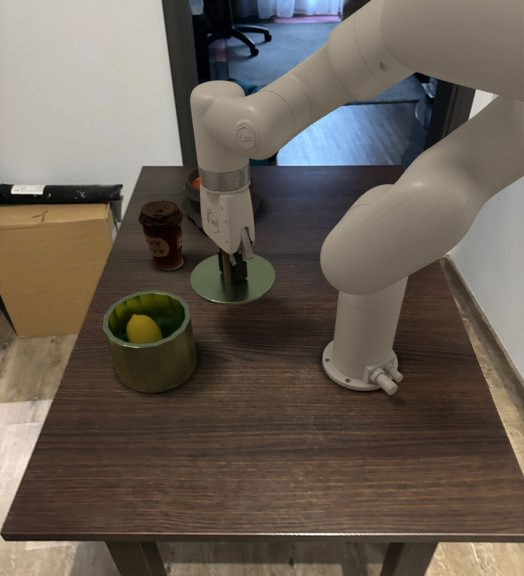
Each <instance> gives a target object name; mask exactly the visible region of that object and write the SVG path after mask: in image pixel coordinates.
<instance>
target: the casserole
mask: <svg viewBox="0 0 524 576" xmlns="http://www.w3.org/2000/svg"><path fill="white" fill-rule="evenodd" d="M256 187H257V185H256V181H255V179H254V178H253V177H252V174H251V173H250V184H249V186H248V188H249V192H250V197H251V203H252V209H253V214H255V212H256V211H257V209H258V208H259V206H260V198H259V195H258V194H257V193H256V192H255V189H256ZM182 191H183V193H184V195H185V196H184V197H183V199H182V201H181V209H182V212H183V213H184V214H185V215H187V216H188V217H189V218H190V219H192V220H193V221H194V223H195V225H196V226H197V227H198V228H199V229H202V230H204V229H203V226H202V216H201V203H200V176H199V168H198V167H195V168H194V169H192V170H191V171H190V172H189V173H188V174H187V175H186V178H185V181H184V183H183V185H182Z"/></svg>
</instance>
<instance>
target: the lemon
mask: <svg viewBox="0 0 524 576" xmlns="http://www.w3.org/2000/svg"><path fill="white" fill-rule="evenodd" d="M126 334H127V338H128V341H129V343H134V344H145V343H153V342H157V341H160V340H162V339H163V338H162V333H161V331H160V329H159V327H158V325H157V324H156V323H155V321H154V320H153V319H151V318H150V317H148V316H145V315H137V314H134V315H132V318H131V319H130V320H129V322H128V324H127V327H126Z"/></svg>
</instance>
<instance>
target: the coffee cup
mask: <svg viewBox="0 0 524 576" xmlns="http://www.w3.org/2000/svg"><path fill="white" fill-rule="evenodd" d="M183 219H184V212H183V210H181V209H180V208H179V206H178V204H177V203H176V202H174V201H172V200H163V199H162V200H152V201H149V202H146V203H144V205H142V207H141V208H140V213H139V215H138V223H139V224H140V225H141V227H142V231H143V232H142V233H143V235H144V238H145V242H146V244H147V248H148V250H149V253H150V255H151V256H152V264H153V266H154V267H155V268H156V269H158V270H163V271H172V270H173V271H174V270H177V269H179V268H180V267H181V266H183V264H184V258H183V255H182V253H183V230H182V221H183Z"/></svg>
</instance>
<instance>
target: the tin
mask: <svg viewBox="0 0 524 576" xmlns="http://www.w3.org/2000/svg"><path fill="white" fill-rule="evenodd" d="M134 314H137V315H145V316H148V317H150V318H151V319H153V320H154V321H155V323H156V324H157V325H158V327H159V329H160V331H161V333H162V338H163V339H162V340H160V341H157V342H153V343H145V344H134V343H129V341H128V338H127V334H126V327H127V324H128V322H129V320H130V319H131V318H132V315H134ZM102 321H103V322H102V323H103V324H102V330H103V333H104V336H105V340H106V343H107V347H108V349H109V352H110V356H111V359H112V362H113V365H114V369H115V372H116V374H117V376H118V378H119V380H120V382H122V384H124V385H125V386H126V387H127V388H129V389H130V390H133V391H136V392H139V393H145V394H156V393H157V394H158V393H163V392H168V391H170V390H172V389H175V388H177V387H179V386H180V385H183V383H185V382H186V381H187V380H188V379H190V377H191V376H192V374H193V373H194V371H195V370H196V367H197V362H198V359H197V358H198V357H197V350H196V341H195V335H194V329H193V328H194V327H193V322H192V315H191V308H190V305H188V304H187V303H186V301H185V300H184V298H183V297H181V296H179V295H177V294H175V293H172V292H170V291H166V290H157V289H153V290H152V289H151V290H143V291H136V292H134V293H131V294H129V295H126V296H124V297H122V298H120V299H119V300H118V301H116V302H115V303H113V304H112V305H110V306H109V309H107V311H106V313H105V315H103V320H102Z"/></svg>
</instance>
